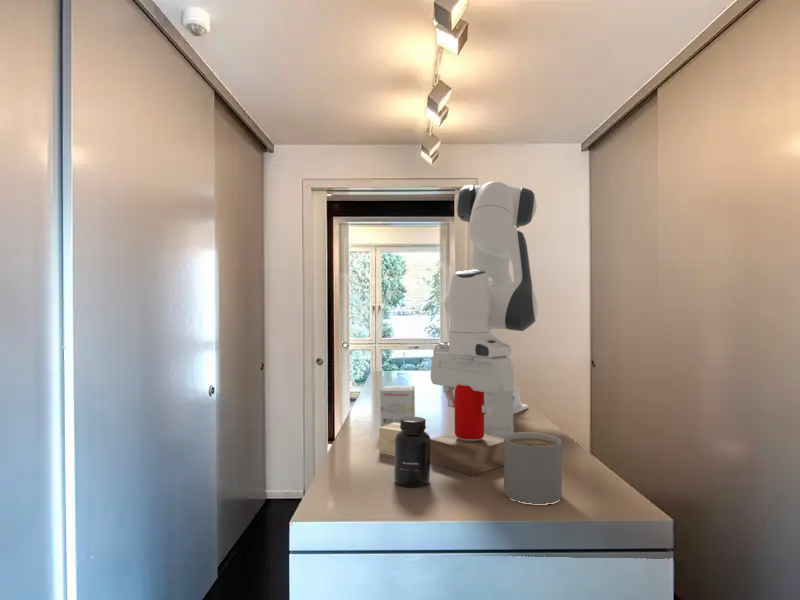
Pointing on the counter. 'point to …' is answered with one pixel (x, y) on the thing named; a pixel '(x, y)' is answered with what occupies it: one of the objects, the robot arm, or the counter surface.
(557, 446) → the coffee mug
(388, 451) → the oak block
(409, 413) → the ink box
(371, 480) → the counter surface
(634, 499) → the counter surface
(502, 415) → the skincare box
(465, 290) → the robot arm
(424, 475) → the supplement bottle
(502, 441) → the walnut block
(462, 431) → the beverage can
